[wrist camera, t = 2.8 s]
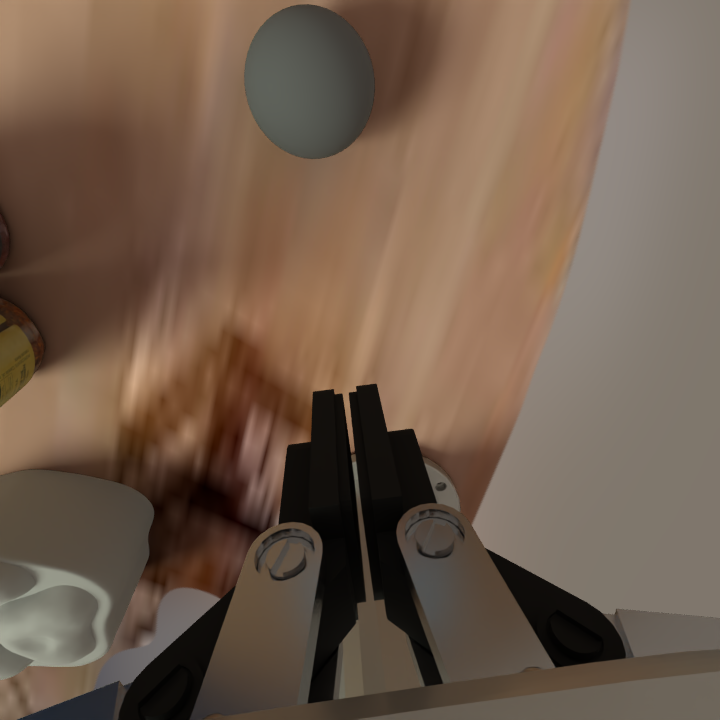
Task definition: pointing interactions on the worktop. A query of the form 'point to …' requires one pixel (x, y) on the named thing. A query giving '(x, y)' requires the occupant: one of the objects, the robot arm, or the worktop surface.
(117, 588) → the white hollowed block
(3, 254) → the supplement bottle
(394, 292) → the worktop surface
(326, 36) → the grey-green ball
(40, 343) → the sauce bottle
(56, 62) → the worktop surface
